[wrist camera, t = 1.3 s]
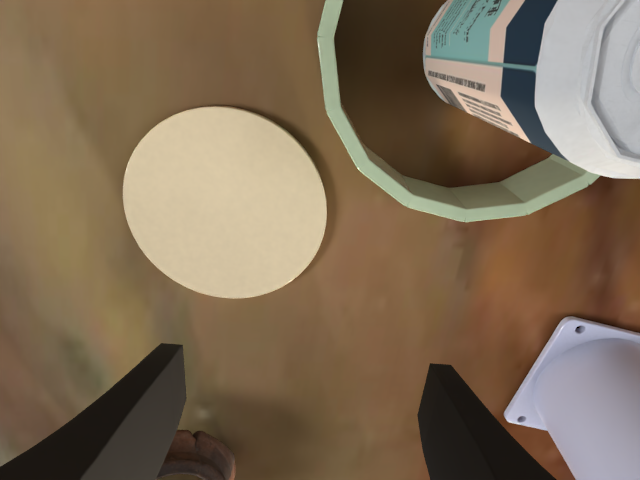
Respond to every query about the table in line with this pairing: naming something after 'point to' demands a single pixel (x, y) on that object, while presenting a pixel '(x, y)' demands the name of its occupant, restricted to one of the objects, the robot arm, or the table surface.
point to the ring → (454, 203)
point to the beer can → (546, 74)
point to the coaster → (225, 201)
